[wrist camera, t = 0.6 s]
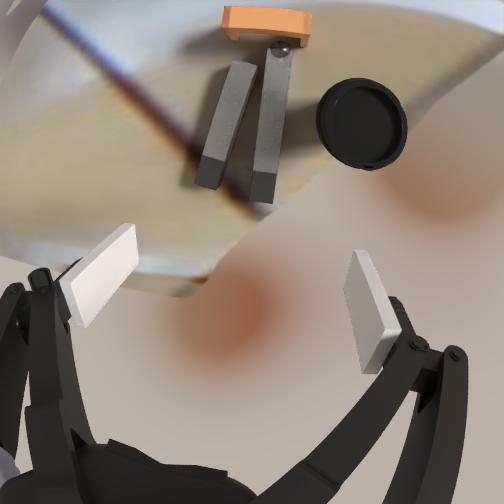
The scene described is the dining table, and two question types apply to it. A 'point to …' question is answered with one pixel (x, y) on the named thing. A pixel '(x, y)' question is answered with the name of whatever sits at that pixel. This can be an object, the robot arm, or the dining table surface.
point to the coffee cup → (362, 124)
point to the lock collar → (266, 22)
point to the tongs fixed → (271, 122)
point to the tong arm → (226, 123)
